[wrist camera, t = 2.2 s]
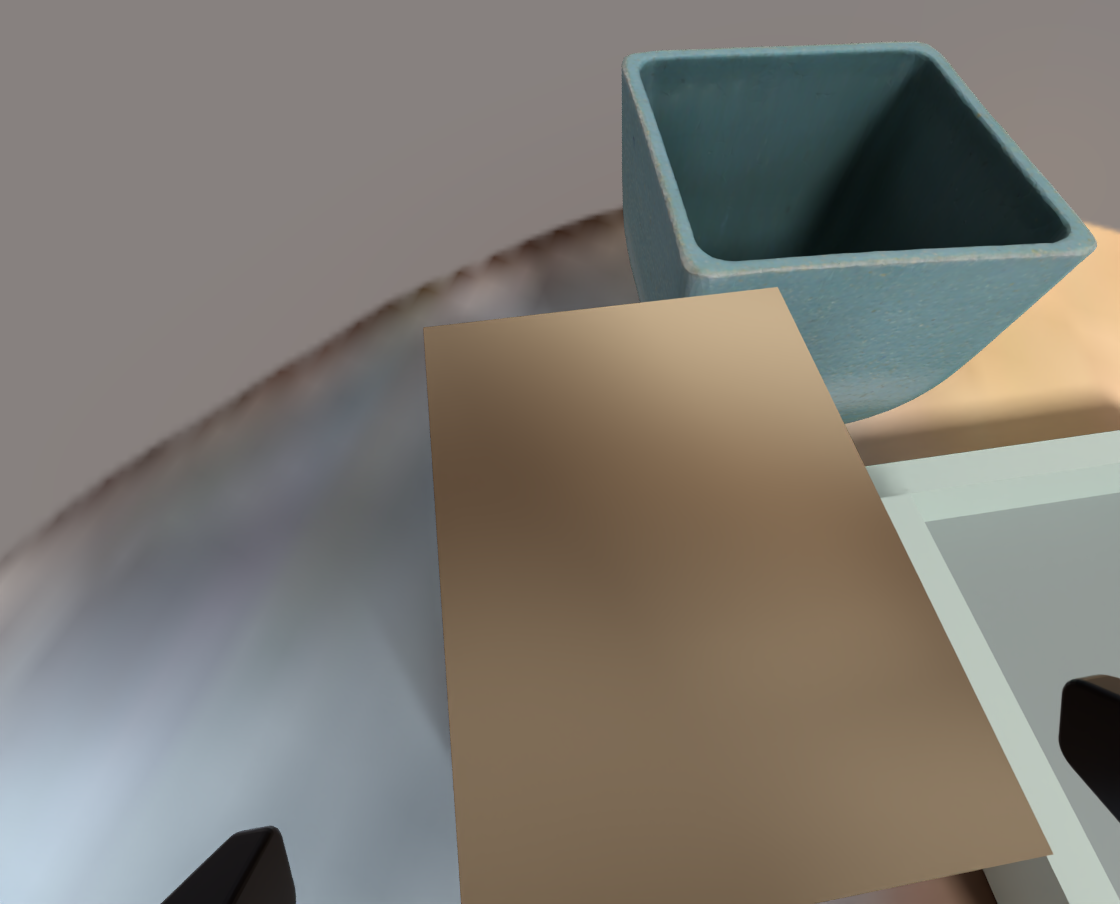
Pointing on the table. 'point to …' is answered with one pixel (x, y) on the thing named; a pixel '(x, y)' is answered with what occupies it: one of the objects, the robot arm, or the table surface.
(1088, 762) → the robot arm
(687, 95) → the flower pot
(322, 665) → the table surface
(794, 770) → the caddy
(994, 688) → the bay
